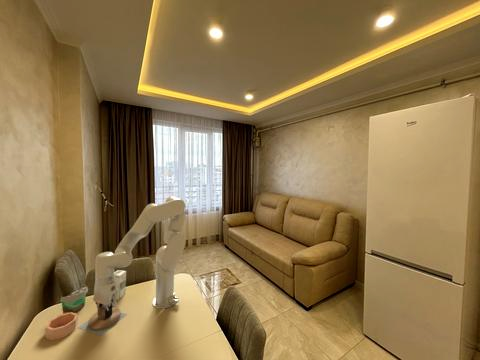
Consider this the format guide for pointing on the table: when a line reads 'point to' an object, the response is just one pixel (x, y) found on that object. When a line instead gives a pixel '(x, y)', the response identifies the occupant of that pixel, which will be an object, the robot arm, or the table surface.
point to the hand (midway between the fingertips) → (105, 315)
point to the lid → (103, 318)
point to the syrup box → (120, 282)
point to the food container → (74, 300)
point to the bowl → (61, 326)
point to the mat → (99, 331)
